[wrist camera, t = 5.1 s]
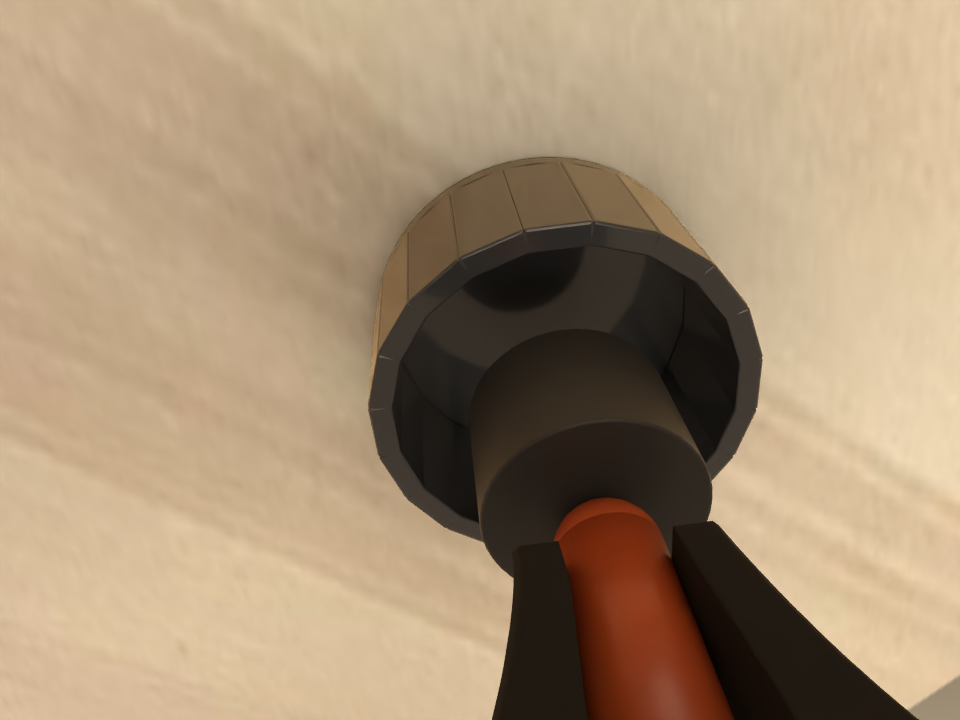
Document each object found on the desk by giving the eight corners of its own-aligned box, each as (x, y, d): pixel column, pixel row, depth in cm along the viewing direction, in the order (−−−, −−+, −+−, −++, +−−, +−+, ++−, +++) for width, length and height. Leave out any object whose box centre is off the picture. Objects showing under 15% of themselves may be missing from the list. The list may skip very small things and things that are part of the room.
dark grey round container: (404, 460, 22) (403, 571, 18) (349, 179, 17) (333, 253, 14) (689, 423, 22) (744, 526, 18) (705, 136, 17) (781, 197, 14)
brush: (478, 500, 16) (529, 962, 9) (457, 341, 14) (502, 779, 7) (661, 476, 17) (851, 917, 9) (666, 314, 14) (917, 725, 7)
